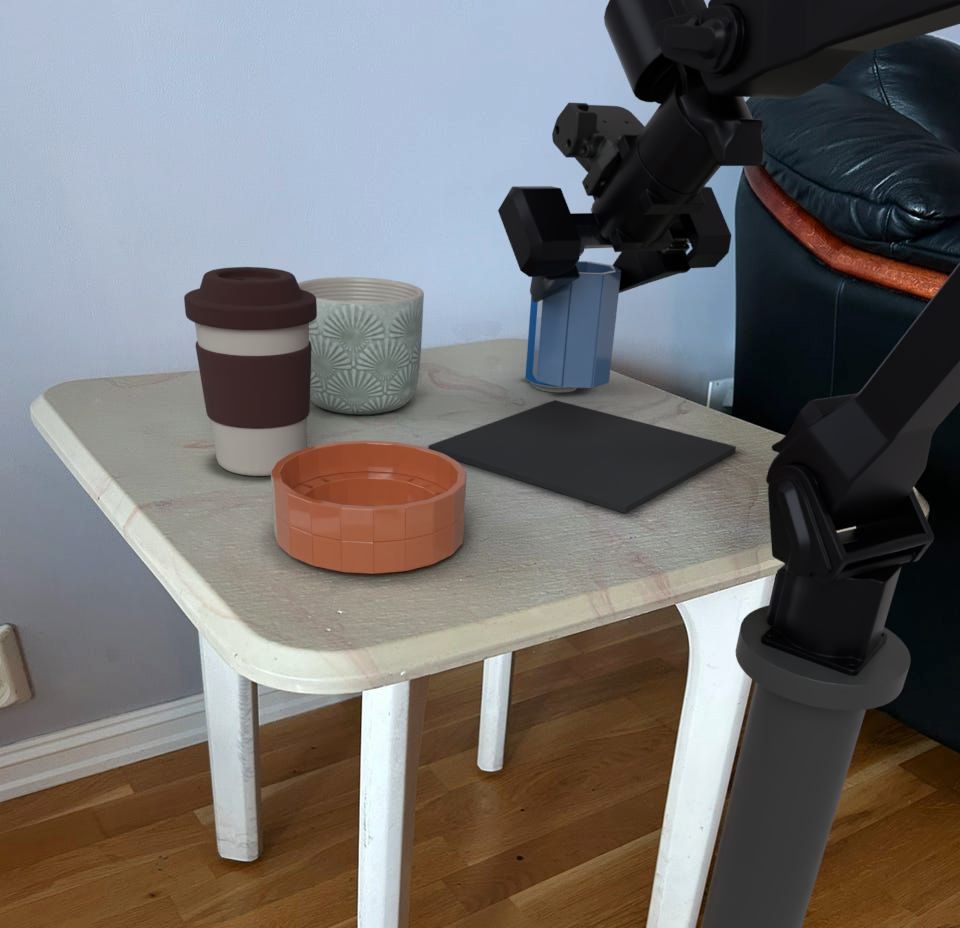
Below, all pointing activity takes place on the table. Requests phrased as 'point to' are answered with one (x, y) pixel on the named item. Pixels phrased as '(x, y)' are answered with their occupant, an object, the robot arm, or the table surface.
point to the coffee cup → (253, 363)
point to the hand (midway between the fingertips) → (568, 294)
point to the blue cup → (578, 329)
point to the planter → (364, 343)
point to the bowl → (368, 506)
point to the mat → (586, 454)
